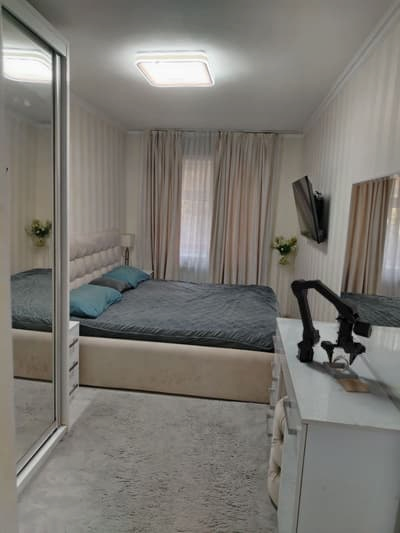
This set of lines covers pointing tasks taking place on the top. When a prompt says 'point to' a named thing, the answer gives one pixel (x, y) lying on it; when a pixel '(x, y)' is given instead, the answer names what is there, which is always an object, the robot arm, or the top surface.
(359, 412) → the top surface
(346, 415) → the top surface
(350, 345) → the robot arm
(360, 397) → the top surface
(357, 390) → the pad
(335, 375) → the bin
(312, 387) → the top surface
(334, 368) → the ring
